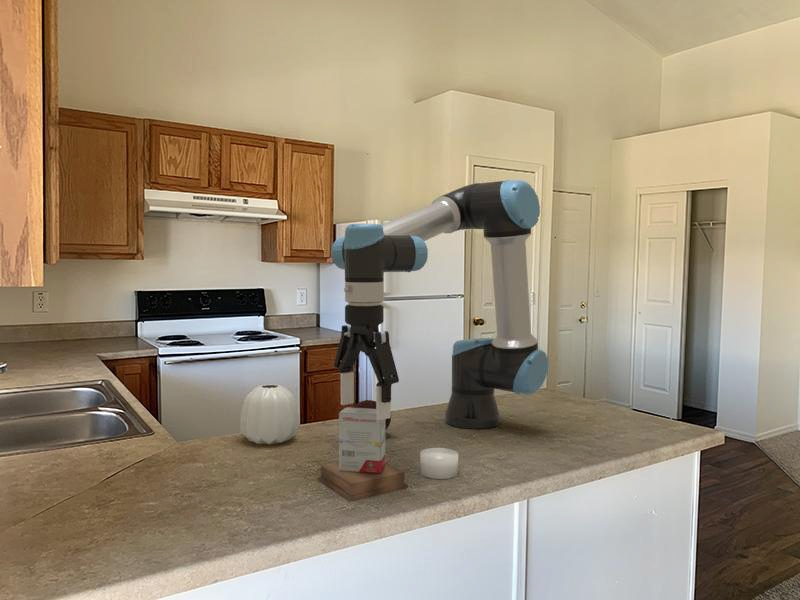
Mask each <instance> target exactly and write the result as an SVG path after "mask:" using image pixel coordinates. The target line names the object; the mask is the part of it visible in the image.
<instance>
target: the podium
mask: <svg viewBox="0 0 800 600" xmlns="http://www.w3.org/2000/svg"><path fill="white" fill-rule="evenodd" d="M405 474H406V473H405V471H404V470H401V469H400V468H397V467H396V466H394V465H391V463H390V464H389V463H387V462H386V461H385V468H384V470H383V471H382V473H380V474H378V473H365V472H351V471H340V470H339V461H337V462H331V463H327V464H322V465H321V466H320V476H317V481H319V482H320V483H322V484H323V485H324V486H326V487H328V488H329V489H331V490H332V491H334V492H335V493H337V494H339V496H341V497H343V498H345V500H347V501H349V502H354V501H357V500H361V499H365V498H369V497H373V496H377V495H381V494H382V495H383V494H386V493H390V492H394V491H398V490H402V489H406V488H408V487H409V484H408V483H407V482H405Z"/></svg>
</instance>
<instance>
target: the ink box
mask: <svg viewBox="0 0 800 600" xmlns="http://www.w3.org/2000/svg"><path fill="white" fill-rule="evenodd" d="M338 462H339V470H340V471H351V472H365V473H378V474H380V473H382V471H383V470H384V468H385V462H386V431H385V419H382V420H377V419H376V409H367V408H352V407H349V406H347V407H344V408H343V409H342V410H340V412H339V413H338Z"/></svg>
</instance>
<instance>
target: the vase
mask: <svg viewBox="0 0 800 600" xmlns="http://www.w3.org/2000/svg"><path fill="white" fill-rule="evenodd" d="M240 412H241V413H240V420H239V428H240V432H241V433H242V434H243V436H244V437H245V438H246V439H247V440H248V441H249V442H250V443H255V444H257V445H273V444H282V443H283V442H287V441H289V440H291V439H292V437H294V436H295V435H296V433H297V432H298V430H299V426H300V416H299V410H298V405H297V401H296V399H295V396H294V395H293V393H292V392H291V391H290V390H289V389H287V388H286V387H284V386H282V385H280V384H276V383H275V384H274V383H266V384H261V385H258V386H257V387H255V388H253V389H252V390H251V391H250V392H249V393H248V394H247V395H246V396H245V399H244V401H243V403H242V407H241V411H240Z"/></svg>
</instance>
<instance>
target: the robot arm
mask: <svg viewBox="0 0 800 600" xmlns="http://www.w3.org/2000/svg"><path fill="white" fill-rule="evenodd" d="M539 201H540V199H539V197H538V194H537V192H536V191H535V189H534V188H533V187H532V185H531V184H530V183H528V182H527V181H525V180H520V179H519V180H518V179H516V180H515V179H506V180H501V181H500V180H499V181H490V182H481V183H480V182H479V183H478V182H475V183H471V184H468V185H464V186H462V187H460V188H456V189H454V190H452V191H450V192H448V193H446V194H443V195H440V196H438V197H436V198H435V199H433V200H432V202H431V204H430V205H427V206H424V207H422V208H420V209H417V210H415V211H413V212H410V213H407V214H406V215H402V216H400V217H398V218H395V219H393V220H391V221H388V222H386V223H383V224H380V223H378V224H377V223H350V224H348V225H347V226H346V227H345V231H344V236H340V237H338V238H337V239H336V240H335V241H334V242H333V243H332V246H331V252H330V253H331V260H332V261H333V264H334V265H335V266H336V267H337V268H339V269H341V270H344V288H343V291H344V301H345V302H346V303H347V304H346V305H345V306H344V322H345V323H346V324H344V325H341V332H340V333H341V335H340V338H339V339H340V340H339V344H338V346H337V347H338V348H337V350H336V351H337V352H336V356H335V358H334V364H333V366H334V368H335V369H337V368H338V372H339V373H340V405H341V406H346V405H353V404H354V403H355V378H354V377H355V372H354V371H355V369H354V366H355V363H356V361H357V359H358V357H359V355H360V352H361V353H363V354H364V355H365V356H366V357H368V360H369V362H370V365H371V367H372V369H373V372H374V374H375V377H376V379H377V383H376V384H375V386H376V389H375V390H376V391H375V394H376V395H375V396H376V397H375V401H376V419H377V420H382V419H388V418H391V419H392V414H391V408H392V407H391V403H392V385H393V384H397V383H399V381H400V379H399V375H398V372H397V367H396V362H395V359H394V355H393V351H392V347H391V344H390V334H389V332H388V331H387V330H385V331H380V330H379V325H382V324H383V323H384V319H385V318H384V313H385V312H384V305H383V304H381V303H383V302H384V301H385V299H384V298H385V297H384V295H385V294H384V293H385V292H384V287H385V285H384V283H385V282H384V277H385V276H384V275H385V274H384V273H403V272H404V273H411V272H417V271H420V270H421V269H423V267H424V266H425V265H426V264H427V261H428V255H429V253H428V251H429V250H428V246H427V243H426V241H428V240H430V239H432V238H434V237H438V236H439V235H441V234H452V233H455V232H458V231H460V230H461V231H463V230H464V231H465V230H483V238H484V239H485V240H486V241H487V242H488V243H489V244H490V251H491V266H492V268H491V269H492V278H493V279H492V281H493V295H494V296H493V297H494V309H495V323H496V325H495V326H496V336H495V338H494V337H493V338H492V337H484V338H483V337H481V338H479V337H478V338H470V339H469V338H468V339H462V340H461V339H460V340H456V341H455V342H454V343H453V346H452V353H451V393H450V394H451V395H450V397H449V401H448V404H447V406H446V407H447V408H446V410H445V411H444V423H446V424H448V425H451V426H453V427H457V428H463V429H474V430H475V429H476V430H477V429H478V430H479V429H490V428H494V427H497V426H499V425H500V424H501V420H500V419H501V416H500V414H501V413H500V412H499V409H498V405H497V402H496V397H495V389H496V390H500V391H504V392H505V391H506V392H510V393H515V394H517V395H520V394H521V395H533V394H535V393H536V392H538V391H539V390H540V389H541V387H543V384H544V382H545V381H546V378H547V376H548V371H549V357H548V355H547V353H546V352H545V351H544V350H542V349H539V345H538V343H539V342H538V339H537V338H536V337H535V336H534V334H533V335H532V330H531V329H532V327H531V325H532V324H531V312H530V310H531V309H530V297H529V296H530V295H529V281H528V280H529V277H528V276H529V275H528V261H527V248H526V247H527V246H526V245H527V243H526V242H527V239H528V238H529V237H530V236H531V235H532V228H534V227H535V226H536V225H537V223H538V222H539V217H540V213H541V209H540V208H541V207H540V202H539Z"/></svg>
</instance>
